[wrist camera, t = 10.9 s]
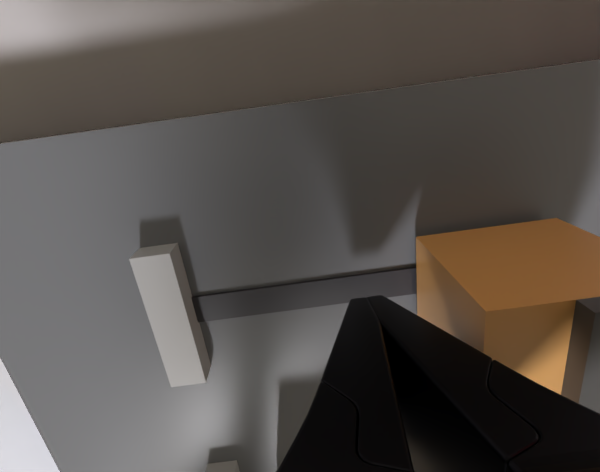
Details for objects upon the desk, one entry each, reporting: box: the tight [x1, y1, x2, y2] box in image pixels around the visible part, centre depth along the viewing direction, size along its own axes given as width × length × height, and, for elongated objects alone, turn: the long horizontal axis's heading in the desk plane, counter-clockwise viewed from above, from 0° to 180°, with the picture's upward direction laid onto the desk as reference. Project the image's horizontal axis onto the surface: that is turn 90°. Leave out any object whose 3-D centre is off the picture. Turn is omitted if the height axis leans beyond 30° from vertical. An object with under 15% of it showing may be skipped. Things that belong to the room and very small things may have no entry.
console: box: [0, 59, 600, 472], centre depth 12 cm, size 18×24×3 cm
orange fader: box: [416, 218, 600, 414], centre depth 8 cm, size 3×4×4 cm
